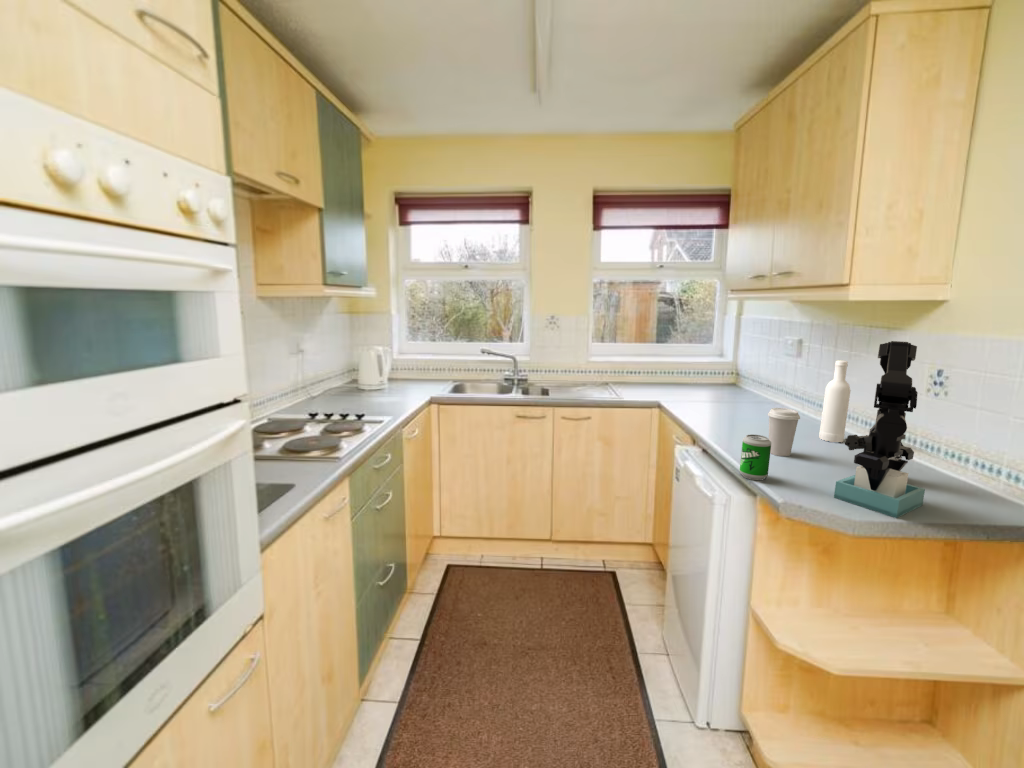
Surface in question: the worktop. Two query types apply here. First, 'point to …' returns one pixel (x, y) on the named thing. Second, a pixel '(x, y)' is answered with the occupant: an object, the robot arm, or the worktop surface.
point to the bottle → (835, 405)
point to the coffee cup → (782, 430)
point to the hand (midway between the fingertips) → (879, 487)
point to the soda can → (755, 457)
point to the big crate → (879, 498)
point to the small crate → (884, 482)
